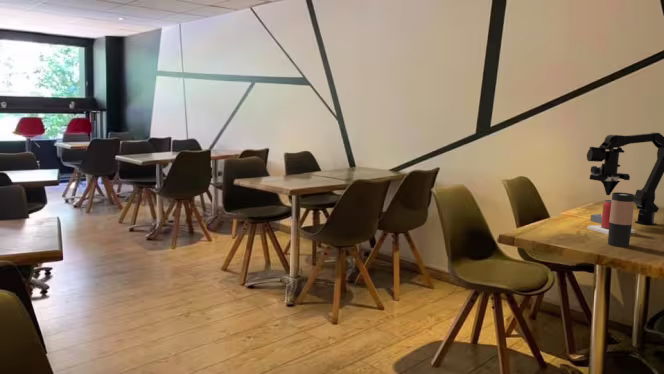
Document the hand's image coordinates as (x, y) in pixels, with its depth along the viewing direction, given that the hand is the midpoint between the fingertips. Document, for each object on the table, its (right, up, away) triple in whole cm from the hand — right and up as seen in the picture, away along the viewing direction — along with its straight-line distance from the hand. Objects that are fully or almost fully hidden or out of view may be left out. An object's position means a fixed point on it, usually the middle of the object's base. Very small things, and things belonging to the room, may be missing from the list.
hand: (607, 195), depth 237 cm
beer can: (-8, -14, -17) cm, 24 cm away
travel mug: (-18, -19, -41) cm, 49 cm away
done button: (0, -12, +2) cm, 13 cm away
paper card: (-8, -15, -16) cm, 24 cm away
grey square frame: (0, -13, +2) cm, 13 cm away
